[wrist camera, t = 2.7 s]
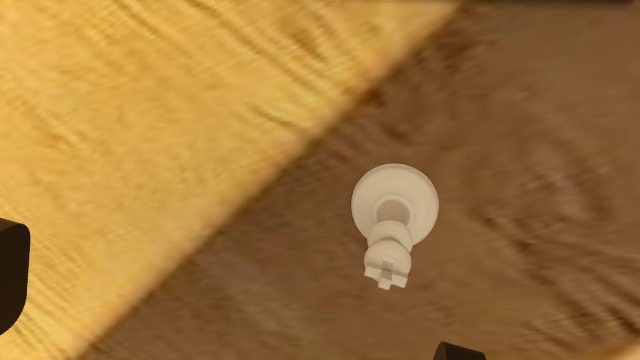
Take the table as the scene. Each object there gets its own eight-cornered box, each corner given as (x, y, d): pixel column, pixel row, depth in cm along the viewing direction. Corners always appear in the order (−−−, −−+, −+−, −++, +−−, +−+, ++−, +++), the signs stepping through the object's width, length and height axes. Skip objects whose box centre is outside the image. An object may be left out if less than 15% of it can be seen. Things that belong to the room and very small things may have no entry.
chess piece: (364, 152, 30) (341, 208, 20) (450, 178, 30) (467, 247, 20) (341, 230, 31) (309, 317, 22) (423, 256, 31) (426, 355, 22)
